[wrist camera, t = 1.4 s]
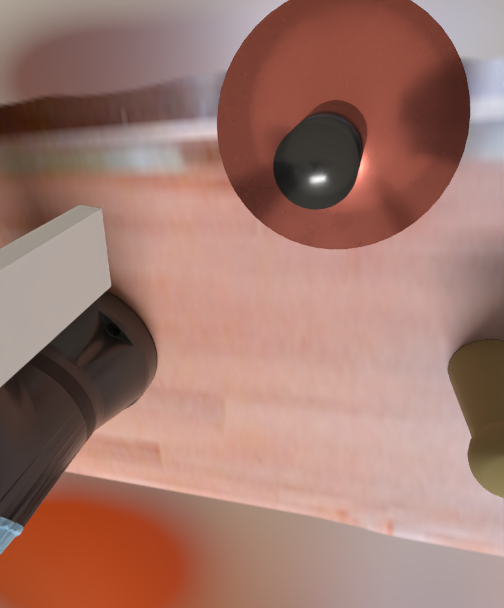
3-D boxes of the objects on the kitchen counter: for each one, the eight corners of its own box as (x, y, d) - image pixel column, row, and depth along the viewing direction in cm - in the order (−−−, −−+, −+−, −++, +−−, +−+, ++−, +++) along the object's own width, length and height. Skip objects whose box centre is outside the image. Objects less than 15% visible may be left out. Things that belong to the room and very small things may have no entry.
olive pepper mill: (461, 332, 35) (483, 436, 26) (544, 348, 34) (598, 464, 25) (438, 388, 38) (451, 498, 29) (513, 405, 37) (551, 525, 28)
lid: (227, 216, 35) (169, 279, 26) (235, -19, 27) (157, -44, 18) (425, 248, 33) (436, 332, 24) (501, -3, 24) (563, -24, 15)
